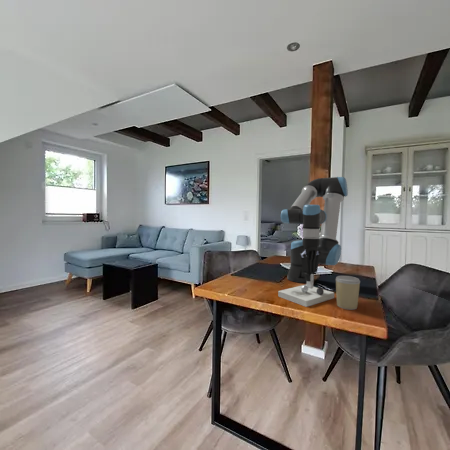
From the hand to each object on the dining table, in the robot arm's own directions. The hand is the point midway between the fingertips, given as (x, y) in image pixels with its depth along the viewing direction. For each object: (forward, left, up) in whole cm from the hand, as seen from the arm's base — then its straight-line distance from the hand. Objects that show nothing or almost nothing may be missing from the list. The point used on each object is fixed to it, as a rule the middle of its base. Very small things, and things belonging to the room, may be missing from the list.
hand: (309, 287), depth 120 cm
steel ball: (+4, 0, 0) cm, 4 cm away
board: (+2, 0, -4) cm, 5 cm away
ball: (0, +6, 0) cm, 6 cm away
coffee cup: (-3, +17, -4) cm, 18 cm away
